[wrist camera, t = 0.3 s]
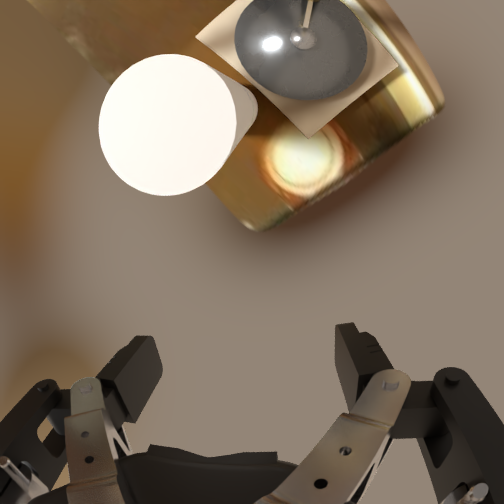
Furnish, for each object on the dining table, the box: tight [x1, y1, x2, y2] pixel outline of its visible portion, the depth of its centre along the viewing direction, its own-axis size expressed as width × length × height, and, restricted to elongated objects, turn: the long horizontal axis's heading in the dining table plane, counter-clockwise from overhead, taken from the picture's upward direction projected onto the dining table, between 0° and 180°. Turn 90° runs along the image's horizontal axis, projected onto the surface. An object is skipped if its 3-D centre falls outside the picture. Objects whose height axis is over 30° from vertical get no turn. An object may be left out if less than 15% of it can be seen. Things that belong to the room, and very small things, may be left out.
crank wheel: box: [234, 0, 368, 100], centre depth 20 cm, size 16×16×12 cm
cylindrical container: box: [99, 54, 258, 196], centre depth 22 cm, size 7×7×25 cm
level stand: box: [196, 0, 399, 139], centre depth 27 cm, size 20×17×2 cm
